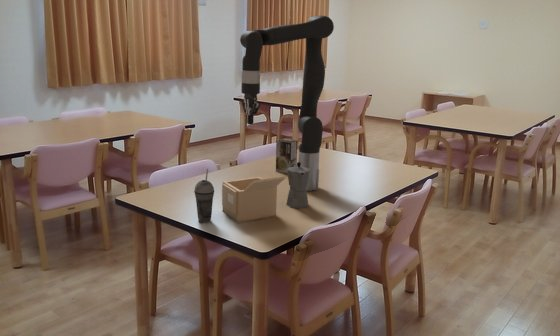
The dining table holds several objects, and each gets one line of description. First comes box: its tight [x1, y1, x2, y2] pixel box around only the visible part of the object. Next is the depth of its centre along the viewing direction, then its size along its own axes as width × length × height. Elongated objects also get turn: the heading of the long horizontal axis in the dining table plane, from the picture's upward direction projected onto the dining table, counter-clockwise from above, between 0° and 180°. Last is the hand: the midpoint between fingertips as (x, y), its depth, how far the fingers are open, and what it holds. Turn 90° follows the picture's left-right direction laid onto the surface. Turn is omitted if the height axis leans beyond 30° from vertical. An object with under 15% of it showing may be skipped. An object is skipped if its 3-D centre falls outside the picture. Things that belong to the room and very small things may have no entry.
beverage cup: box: [193, 168, 215, 224], centre depth 184 cm, size 7×7×20 cm
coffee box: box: [275, 138, 298, 174], centre depth 255 cm, size 9×6×16 cm
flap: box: [244, 176, 286, 192], centre depth 182 cm, size 1×13×9 cm
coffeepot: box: [286, 161, 310, 209], centre depth 206 cm, size 15×9×18 cm, turn 13°
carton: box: [221, 176, 278, 224], centre depth 194 cm, size 15×18×12 cm
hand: (250, 123), depth 210 cm, fingers closed
